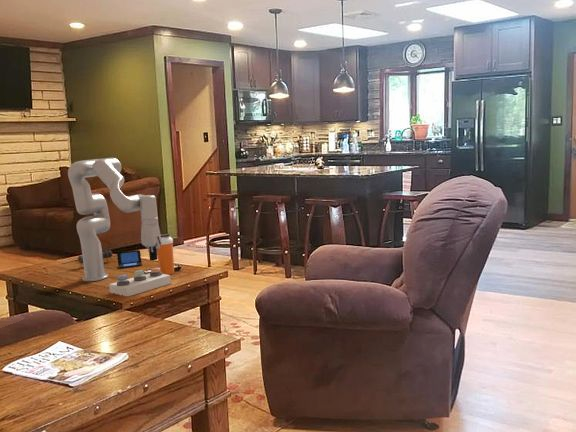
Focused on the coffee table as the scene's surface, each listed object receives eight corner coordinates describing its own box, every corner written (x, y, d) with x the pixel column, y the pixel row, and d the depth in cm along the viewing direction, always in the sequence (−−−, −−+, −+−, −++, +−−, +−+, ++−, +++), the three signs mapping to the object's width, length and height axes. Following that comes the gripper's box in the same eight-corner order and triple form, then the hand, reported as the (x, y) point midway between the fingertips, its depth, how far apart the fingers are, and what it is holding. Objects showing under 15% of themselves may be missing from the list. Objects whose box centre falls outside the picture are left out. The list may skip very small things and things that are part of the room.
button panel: (110, 292, 277) (108, 281, 277) (153, 280, 295) (152, 269, 294) (127, 296, 268) (126, 285, 267) (171, 283, 286) (170, 272, 285)
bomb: (110, 240, 349) (58, 250, 330) (118, 250, 343) (66, 261, 324) (108, 255, 354) (57, 266, 335) (116, 266, 348) (64, 277, 329)
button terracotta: (149, 272, 287) (148, 269, 287) (156, 270, 290) (156, 267, 290) (154, 273, 284) (154, 270, 284) (162, 271, 287) (162, 268, 287)
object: (118, 269, 326) (117, 256, 325) (118, 265, 336) (116, 252, 335) (142, 266, 329) (140, 253, 328) (141, 262, 340) (139, 249, 339)
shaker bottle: (174, 274, 302) (169, 235, 299) (156, 276, 303) (152, 236, 300) (177, 270, 311) (173, 232, 308) (160, 271, 312) (156, 233, 309)
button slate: (115, 279, 274) (115, 276, 274) (124, 277, 277) (123, 274, 277) (121, 281, 271) (120, 277, 271) (129, 278, 274) (129, 275, 274)
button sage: (132, 275, 280) (132, 271, 280) (140, 273, 284) (140, 269, 283) (138, 276, 277) (137, 272, 277) (146, 274, 281) (145, 270, 280)
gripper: (133, 221, 286) (137, 259, 289) (152, 224, 276) (156, 263, 279) (147, 219, 291) (150, 256, 294) (166, 221, 281) (169, 260, 284)
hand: (153, 259), depth 287 cm, fingers closed
